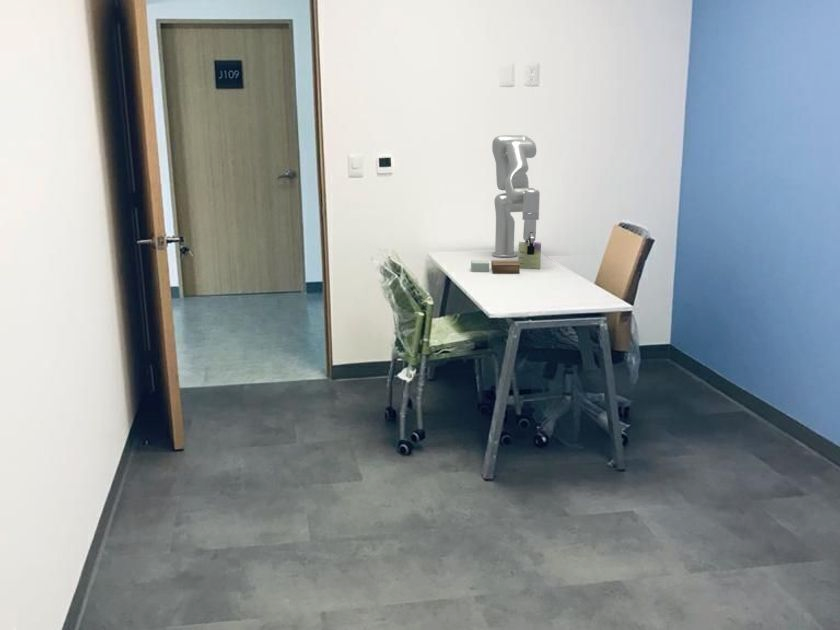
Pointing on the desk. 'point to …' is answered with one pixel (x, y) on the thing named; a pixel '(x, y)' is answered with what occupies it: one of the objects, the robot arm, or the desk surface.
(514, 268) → the walnut base
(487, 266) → the green block
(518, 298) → the desk surface
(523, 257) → the box
